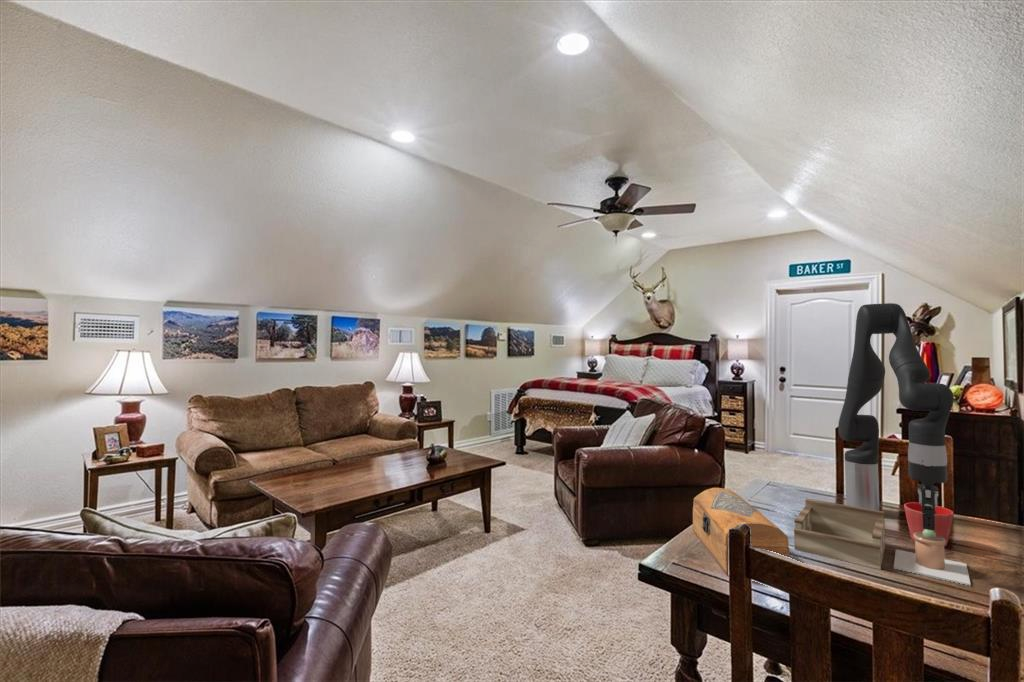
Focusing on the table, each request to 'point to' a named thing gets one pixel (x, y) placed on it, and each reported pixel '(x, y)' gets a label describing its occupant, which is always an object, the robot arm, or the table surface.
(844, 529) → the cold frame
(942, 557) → the seedling pot
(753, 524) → the wooden box
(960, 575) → the grey mat
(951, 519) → the flower pot
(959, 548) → the table surface
